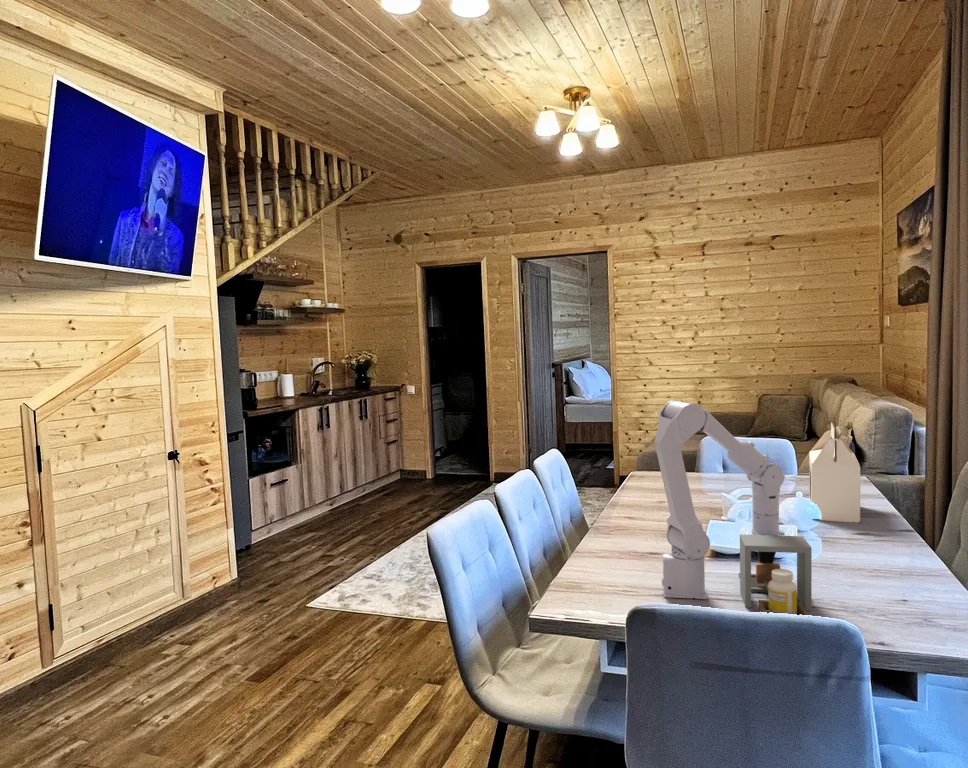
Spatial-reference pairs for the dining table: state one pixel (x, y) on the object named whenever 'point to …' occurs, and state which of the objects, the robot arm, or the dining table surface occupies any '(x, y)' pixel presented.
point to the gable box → (835, 478)
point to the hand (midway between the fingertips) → (765, 569)
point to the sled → (764, 578)
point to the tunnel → (777, 545)
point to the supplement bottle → (782, 592)
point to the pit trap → (756, 585)
